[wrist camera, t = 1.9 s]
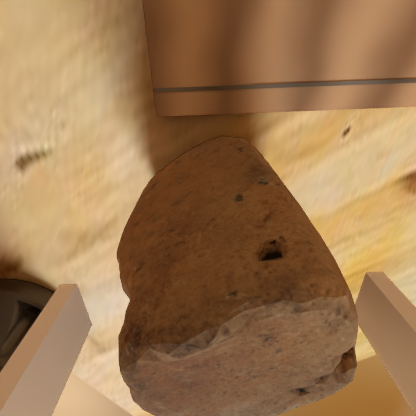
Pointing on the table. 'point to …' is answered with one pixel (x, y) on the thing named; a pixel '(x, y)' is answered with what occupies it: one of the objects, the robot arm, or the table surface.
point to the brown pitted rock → (230, 292)
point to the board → (280, 55)
